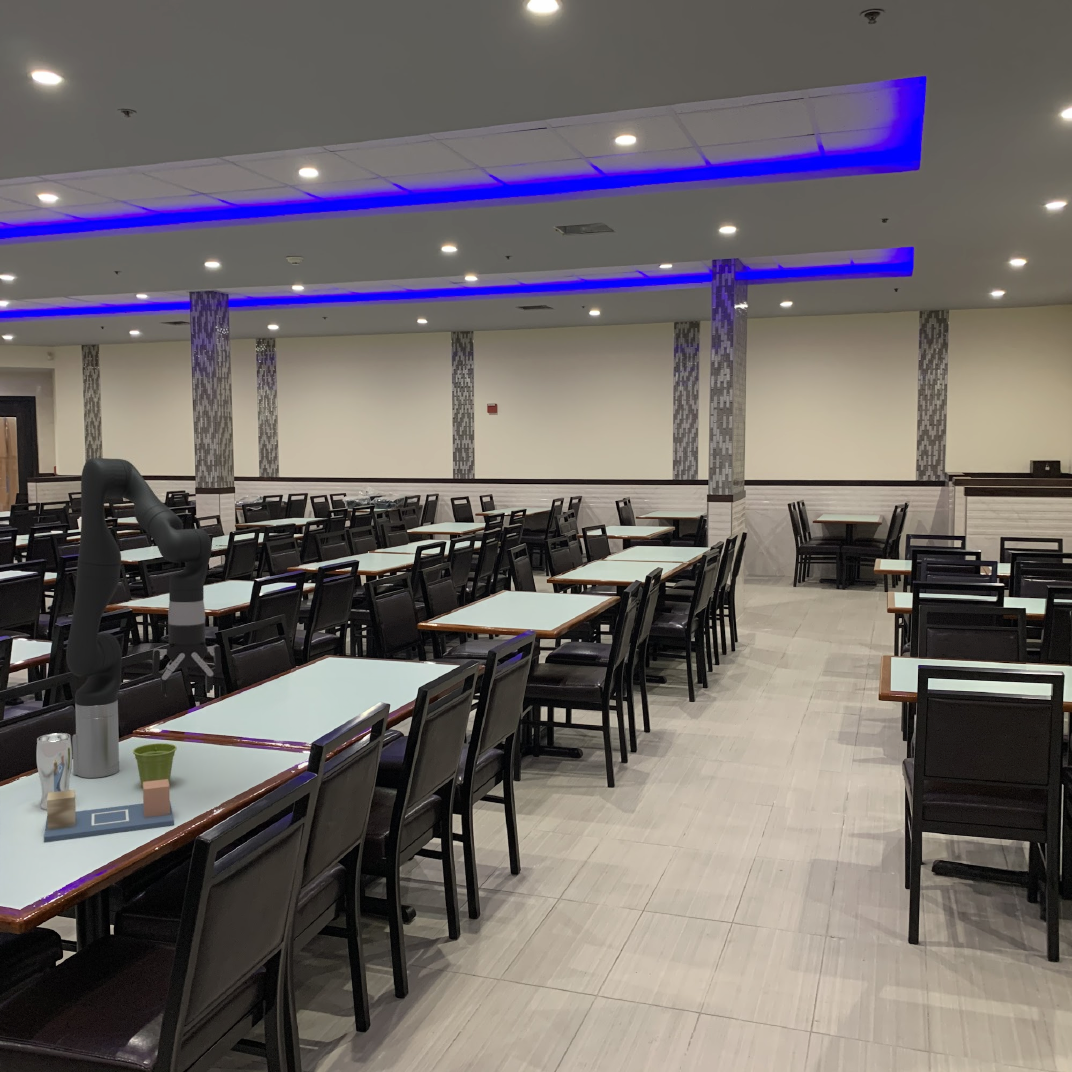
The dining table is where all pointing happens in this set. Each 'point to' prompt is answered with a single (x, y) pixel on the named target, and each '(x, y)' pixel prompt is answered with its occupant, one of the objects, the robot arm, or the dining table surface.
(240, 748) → the dining table surface
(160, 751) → the plant pot
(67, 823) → the maple block
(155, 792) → the terracotta block
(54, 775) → the beer glass
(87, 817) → the board
